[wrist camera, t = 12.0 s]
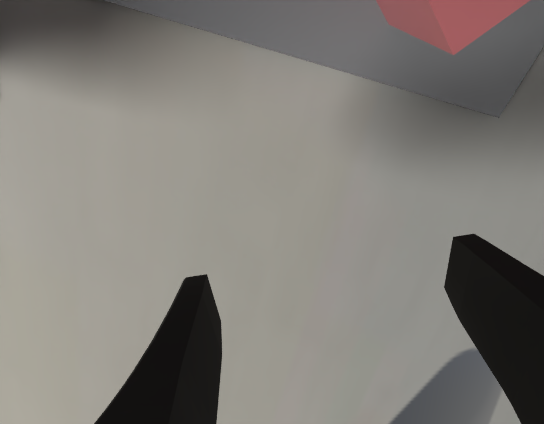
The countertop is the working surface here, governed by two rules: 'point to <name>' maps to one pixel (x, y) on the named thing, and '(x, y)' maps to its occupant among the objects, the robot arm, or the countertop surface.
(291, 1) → the mat
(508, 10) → the box
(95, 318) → the countertop surface
